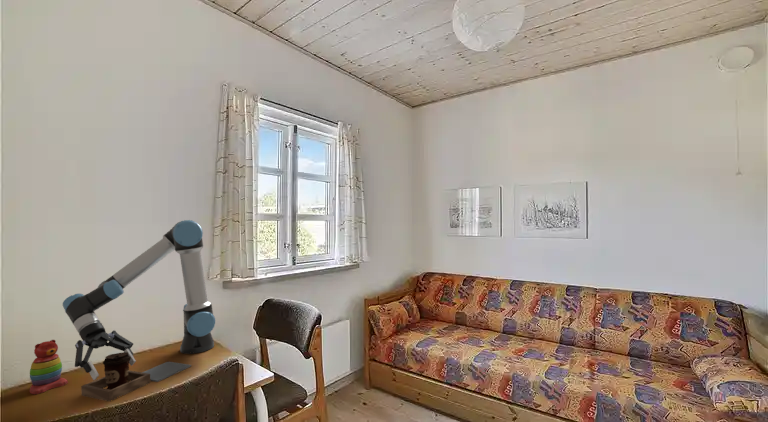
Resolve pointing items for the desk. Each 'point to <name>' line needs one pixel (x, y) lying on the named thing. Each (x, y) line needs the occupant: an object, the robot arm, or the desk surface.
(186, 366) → the mat
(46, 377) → the stacking bear
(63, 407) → the desk surface
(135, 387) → the square frame
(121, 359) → the coffee cup
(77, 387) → the desk surface
